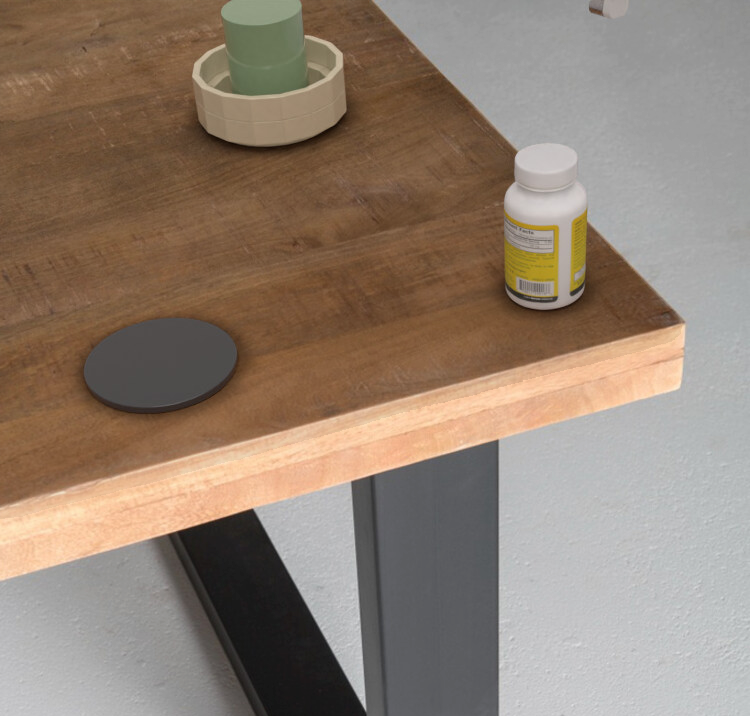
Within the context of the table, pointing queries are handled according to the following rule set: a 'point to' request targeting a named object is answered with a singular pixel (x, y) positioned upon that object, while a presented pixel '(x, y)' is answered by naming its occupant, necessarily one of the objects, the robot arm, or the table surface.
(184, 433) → the table surface
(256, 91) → the sage green cylinder
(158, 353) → the slate coaster
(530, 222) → the supplement bottle
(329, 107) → the cream bowl
